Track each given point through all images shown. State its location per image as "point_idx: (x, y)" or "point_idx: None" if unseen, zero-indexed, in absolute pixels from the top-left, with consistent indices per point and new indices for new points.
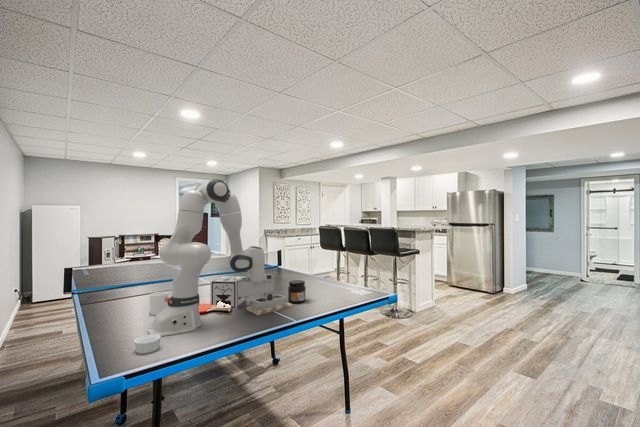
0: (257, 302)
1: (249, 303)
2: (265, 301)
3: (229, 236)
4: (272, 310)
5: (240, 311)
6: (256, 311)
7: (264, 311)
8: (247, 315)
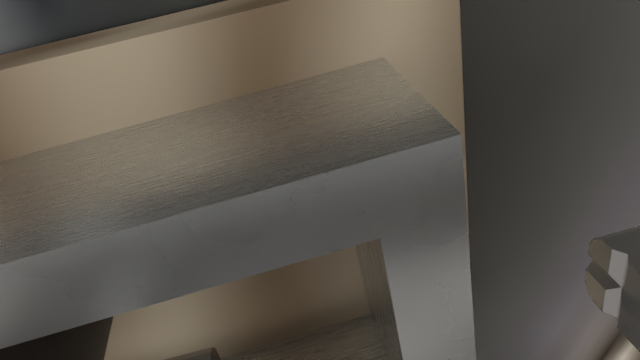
0: (466, 215)
1: (636, 239)
2: (200, 231)
3: None
4: (29, 53)
5: (553, 277)
6: (450, 33)
7: (258, 4)
8: (582, 39)
